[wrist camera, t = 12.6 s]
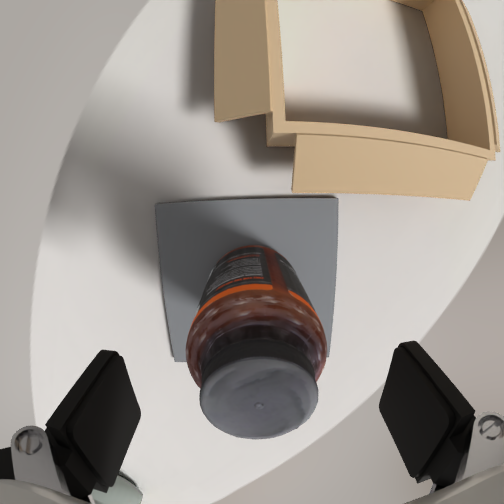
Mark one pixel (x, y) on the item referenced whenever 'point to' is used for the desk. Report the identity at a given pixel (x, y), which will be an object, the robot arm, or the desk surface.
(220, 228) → the mat
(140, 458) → the desk surface
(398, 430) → the robot arm
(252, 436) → the supplement bottle
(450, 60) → the carton
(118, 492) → the air freshener
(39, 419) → the desk surface
